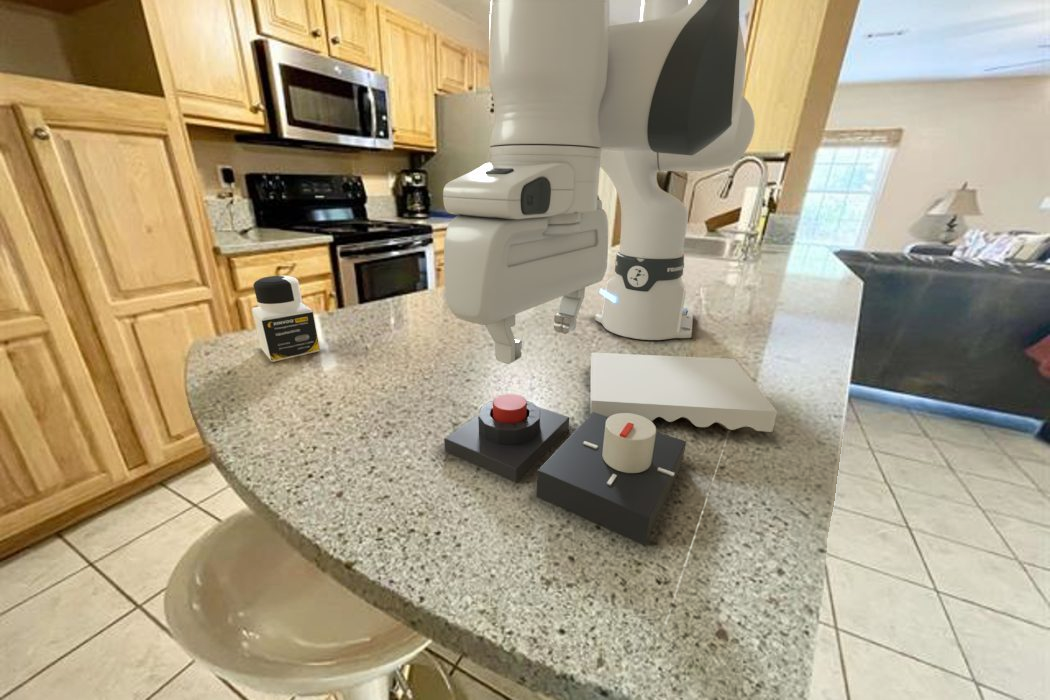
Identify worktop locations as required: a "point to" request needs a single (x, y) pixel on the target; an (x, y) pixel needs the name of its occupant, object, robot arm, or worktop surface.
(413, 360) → the worktop surface
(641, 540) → the control panel
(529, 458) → the box
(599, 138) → the robot arm
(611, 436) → the dial
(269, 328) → the medicine bottle
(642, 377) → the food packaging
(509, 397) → the power button
